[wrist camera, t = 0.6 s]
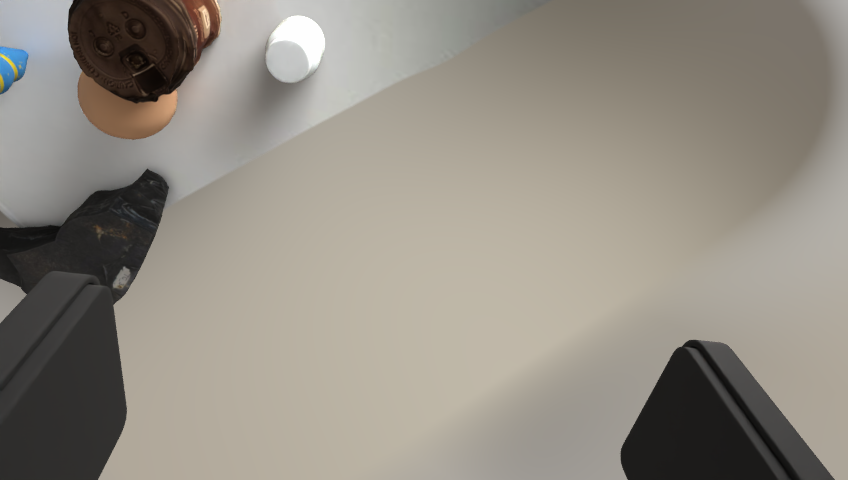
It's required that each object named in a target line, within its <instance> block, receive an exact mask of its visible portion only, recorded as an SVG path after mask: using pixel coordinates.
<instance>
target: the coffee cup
mask: <svg viewBox="0 0 848 480" xmlns="http://www.w3.org/2000/svg"><path fill="white" fill-rule="evenodd" d="M221 19H222V17H221V15H220V7H219V5H218V3H217V0H74V1H73V4H72V5H71V7H70V9H69V17H68V33H69V42H70V44H71V48H72V50H73V54H74V58H75V59H76V60H77V62H78V64H79V66H80V68H81V69H82V71H83V72H84V73H85V75H86V76H88V77H91V78H93V79H94V81H95V82H96V83H97V84H98V85H100V86H101V87H103V88H104V89H106V90H108V91H110V92H111V93H113V94H114V95H116V96H118V97H120V98H122V99H125V100H127V101H132V102H134V103H136V104H137V103H139V102H142V103H144V102H151V101H152V102H157V101H158V98H159V97H160V96H161V95H163V94H165V95H168V94H171V93H172V92H173V91H174V90H175V89H176V88H178V87H179V86H180V85H181V83H182V82H183V81H184V79H185V78H186V76H187V75H188V74H189V72H190V71H192V70H193V68H194V66H195V65H196V64H197V62H198V61H199V60H200V57H201V52H202V49H203V48H206V47H208V46H209V45H211V43H212V42H213V40H214V39H216V38H217V37H218V36H219V34H220V23H221V21H222V20H221Z"/></svg>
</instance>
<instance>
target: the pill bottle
mask: <svg viewBox="0 0 848 480" xmlns="http://www.w3.org/2000/svg"><path fill="white" fill-rule="evenodd" d="M324 48H325V39H324V36H323V33H322V31H321V29H320V28H319V26H318V25H317V24H316V23H315V22H314V21H312V20H311V19H309V18H306V17H303V16H292V17H289V18H287V19H285V20H284V21H283V22H282V23H281V24H280V25H279V26H278V27H277V28H276V29H275V30H274V32H273V33H272V34H271V35H270V37H269V39H268V41H267V44H266V56H265V61H266V66H267V68H268V70H269V72H270V73H271V75H272V76H273V77H274V78H276V79H277V80H279V81H281V82H284V83H290V84H291V83H296V82H299V81H301V80H304V79H306V78H308V77H310V76H311V75H312V74H313V73H314V72H315V71H316V69H317V67H318V65H319V63H320V60H321V58H322V55H323V52H324Z"/></svg>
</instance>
